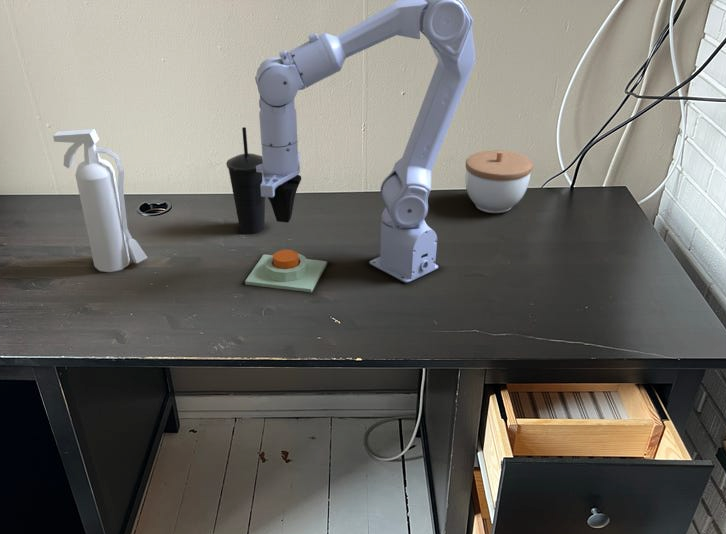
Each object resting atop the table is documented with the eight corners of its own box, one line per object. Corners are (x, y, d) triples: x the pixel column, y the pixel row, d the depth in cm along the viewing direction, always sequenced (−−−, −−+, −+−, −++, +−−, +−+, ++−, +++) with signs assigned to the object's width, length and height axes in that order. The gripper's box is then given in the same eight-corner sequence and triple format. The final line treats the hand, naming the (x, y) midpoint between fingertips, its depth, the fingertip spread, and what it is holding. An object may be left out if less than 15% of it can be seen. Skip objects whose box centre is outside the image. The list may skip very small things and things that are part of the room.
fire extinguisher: (141, 276, 131) (115, 138, 117) (79, 271, 134) (46, 136, 119) (154, 258, 137) (131, 124, 122) (94, 253, 139) (65, 122, 124)
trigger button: (301, 259, 129) (301, 250, 128) (294, 271, 126) (294, 262, 125) (278, 256, 130) (277, 248, 129) (270, 268, 127) (269, 260, 126)
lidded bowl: (537, 213, 144) (547, 159, 137) (478, 222, 142) (484, 168, 135) (507, 189, 154) (515, 137, 147) (451, 197, 152) (456, 145, 145)
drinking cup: (273, 220, 147) (267, 120, 135) (269, 237, 141) (262, 134, 129) (236, 220, 148) (226, 121, 136) (230, 237, 142) (219, 135, 130)
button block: (326, 264, 132) (326, 252, 130) (311, 292, 124) (311, 279, 122) (263, 257, 135) (262, 245, 133) (245, 284, 127) (243, 272, 126)
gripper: (269, 124, 122) (274, 200, 130) (239, 155, 111) (246, 237, 119) (310, 126, 120) (313, 203, 128) (283, 159, 109) (288, 241, 117)
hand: (283, 220), depth 123 cm, fingers closed
